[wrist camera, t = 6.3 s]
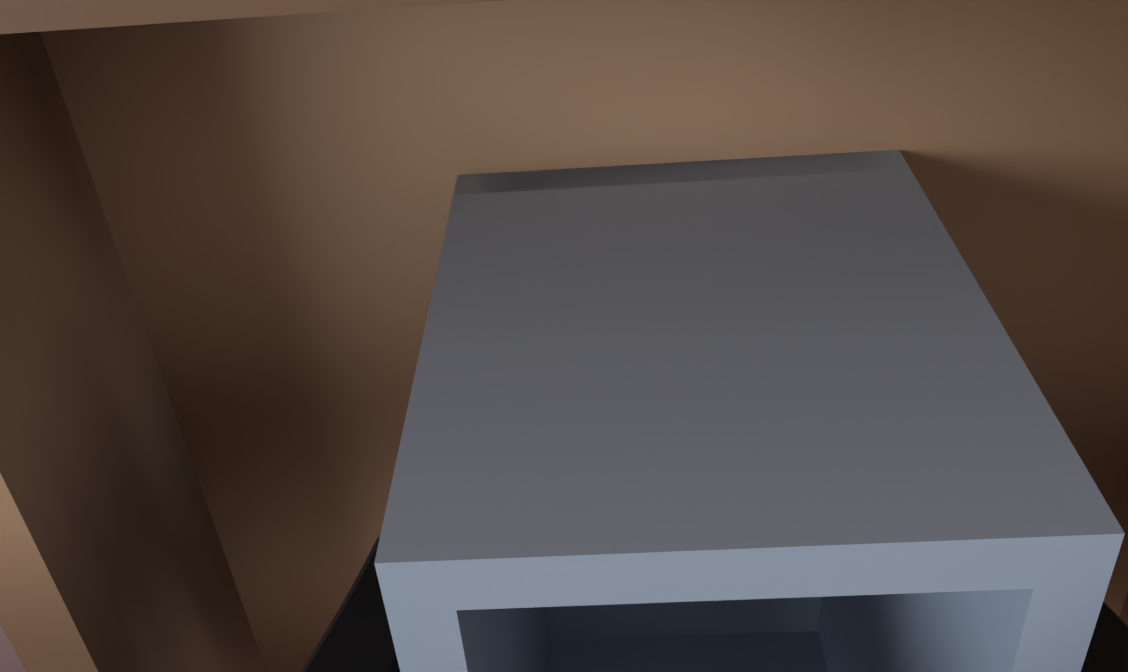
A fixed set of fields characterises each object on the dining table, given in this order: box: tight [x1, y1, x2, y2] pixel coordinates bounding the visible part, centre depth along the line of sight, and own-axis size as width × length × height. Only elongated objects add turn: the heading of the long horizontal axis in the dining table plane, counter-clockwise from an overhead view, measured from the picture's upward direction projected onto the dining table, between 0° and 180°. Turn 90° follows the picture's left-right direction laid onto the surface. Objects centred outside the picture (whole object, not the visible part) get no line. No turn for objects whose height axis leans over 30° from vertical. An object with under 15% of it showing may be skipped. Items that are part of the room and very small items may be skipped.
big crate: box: [0, 0, 1128, 672], centre depth 13 cm, size 16×15×4 cm
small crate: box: [374, 150, 1125, 672], centre depth 12 cm, size 8×5×6 cm, turn 4°
